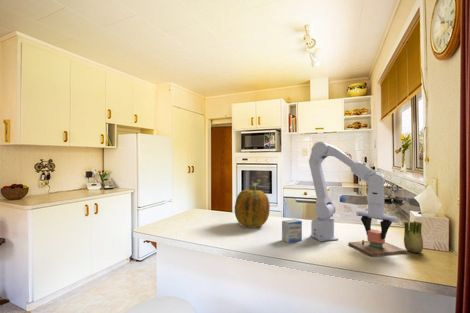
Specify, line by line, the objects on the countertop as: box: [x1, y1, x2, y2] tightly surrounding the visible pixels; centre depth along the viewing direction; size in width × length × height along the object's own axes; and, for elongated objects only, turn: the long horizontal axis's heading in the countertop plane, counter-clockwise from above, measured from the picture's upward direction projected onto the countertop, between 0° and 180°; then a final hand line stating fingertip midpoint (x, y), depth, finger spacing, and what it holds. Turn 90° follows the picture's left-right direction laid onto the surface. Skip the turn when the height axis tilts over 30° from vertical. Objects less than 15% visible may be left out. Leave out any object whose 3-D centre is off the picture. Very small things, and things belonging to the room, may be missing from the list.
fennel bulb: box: [403, 220, 424, 254], centre depth 90 cm, size 6×5×12 cm
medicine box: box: [281, 218, 303, 244], centre depth 101 cm, size 8×4×9 cm, turn 117°
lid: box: [366, 228, 386, 244], centre depth 92 cm, size 6×6×4 cm
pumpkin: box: [234, 178, 271, 228], centre depth 122 cm, size 19×19×25 cm
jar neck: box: [369, 242, 383, 248], centre depth 92 cm, size 5×5×2 cm
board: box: [348, 239, 407, 257], centre depth 92 cm, size 16×12×2 cm
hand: (375, 236), depth 92 cm, fingers closed on lid, 5 cm apart
